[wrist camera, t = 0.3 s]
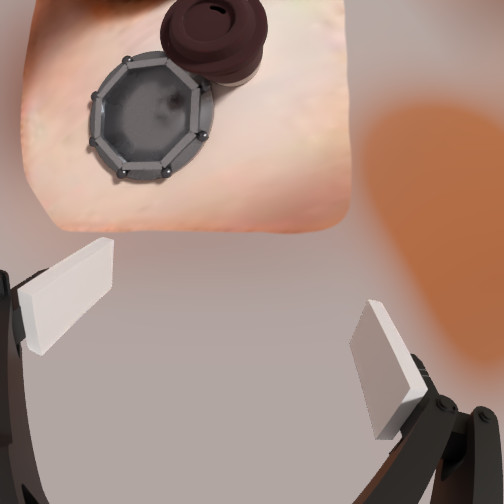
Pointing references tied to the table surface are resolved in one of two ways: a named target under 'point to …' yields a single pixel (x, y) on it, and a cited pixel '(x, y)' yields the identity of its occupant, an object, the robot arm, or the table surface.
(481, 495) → the robot arm
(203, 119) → the grey flat octagonal tray
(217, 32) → the coffee cup
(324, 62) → the table surface
